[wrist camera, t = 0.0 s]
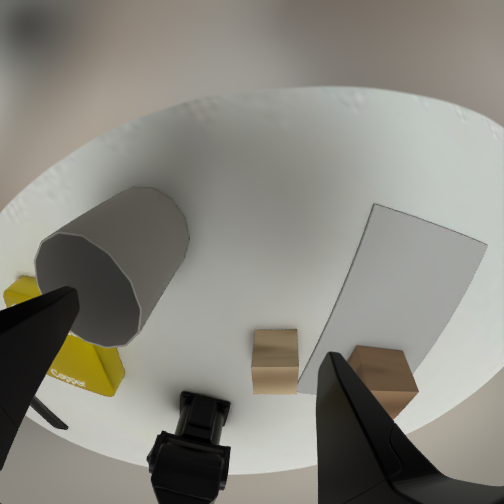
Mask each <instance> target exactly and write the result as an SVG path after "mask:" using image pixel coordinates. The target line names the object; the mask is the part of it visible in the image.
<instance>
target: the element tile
mask: <svg viewBox="0 0 504 504" xmlns="http://www.w3.org/2000/svg"><path fill="white" fill-rule="evenodd" d="M40 295H42V294H41V292H40V290H39V288H38V285H37V282H36V278H33V277H28V276H22V277H20V278H19V279H18V280H17V281H15V282H14V283H13V284H12V285H11V286H10V287H8V288H7V289H6V290H5V291H4V294H3V297H4V301H5V303H6V306H7V308H9V307H11V306H14V305H16V304H19V303H21V302H24V301H27V300H29V299H32V298H34V297H37V296H40ZM46 374H47V375H49V376H51V377H54V378H56V379H59V380H61V381H64V382H66V383H69V384H71V385H74V386H77V387H80V388H82V389H85V390H88V391H91V392H94V393H97V394H100V395H103V396H107V397H112V396H114V395H115V393H116V391H117V389H118V387H119V385H120V383H121V381H122V379H123V377H124V375H125V371H124V368H123V365H122V362H121V360H120V357H119V354H118V351H117V349H116V347H114V348H104V347H101V346H97V345H94V344H91V343H88V342H85V341H83V340H82V339H81V338H79V337H78V336H76V335H75V334H73V333H72V332H70V331H69V333H68V336H67V338H66V340H65V342H64V344H63V345H62V347H61V349H60V351H59V352H58V354H57V356H56V357H55V359H54V361H53V363H52V364H51V366H50V368H49V370H48V371H47V373H46Z"/></svg>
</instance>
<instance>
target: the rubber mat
mask: <svg viewBox="0 0 504 504" xmlns="http://www.w3.org/2000/svg"><path fill="white" fill-rule="evenodd" d="M487 247H488V245H487V244H484V243H482V242H480V241H477V240H475V239H472V238H470V237H467V236H465V235H462V234H460V233H457V232H455V231H452V230H449V229H447V228H444V227H441V226H439V225H436V224H433V223H431V222H428V221H425V220H422V219H419V218H417V217H414V216H411V215H408V214H405V213H402V212H399V211H396V210H393V209H390V208H387V207H383V206H380V205H377V204H374V205H373V208H372V211H371V214H370V217H369V219H368V222H367V225H366V228H365V231H364V234H363V236H362V239H361V242H360V244H359V247H358V250H357V252H356V255H355V258H354V260H353V263H352V265H351V268H350V270H349V273H348V275H347V278H346V280H345V283H344V285H343V287H342V290H341V292H340V295H339V297H338V299H337V302H336V304H335V306H334V308H333V311H332V313H331V315H330V317H329V320H328V322H327V324H326V326H325V328H324V331H323V333H322V335H321V337H320V339H319V341H318V343H317V345H316V347H315V349H314V351H313V353H312V355H311V358H310V360H309V362H308V364H307V365H306V367H305V369H304V371H303V373H302V375H301V377H300V379H299V381H298V383H297V392H298V393H306V394H315V395H317V381H318V370H319V367H320V365H321V363H322V361H323V359H324V357H325V355H326V354H327V352H329V351H333V352H339V353H341V354H342V356H343V357H344V358H345V360H346V361H348V359H349V357H350V356H351V354H352V352H353V350H354V349H355V347H356V345H358V346H366V347H374V348H382V349H391V350H400V351H403V352H404V355H405V357H406V360H407V362H408V365H409V367H410V370H411V372H412V374H413V373H414V372H415V370H416V369H417V368H418V366H419V365H420V364H421V362H422V361H423V360H424V358H425V357H426V355H427V354H428V352H429V351H430V350H431V348H432V347H433V345H434V344H435V342H436V341H437V339H438V338H439V336H440V335H441V333H442V332H443V330H444V328H445V327H446V325H447V324H448V322H449V320H450V319H451V317H452V315H453V314H454V312H455V310H456V309H457V307H458V305H459V303H460V302H461V300H462V298H463V296H464V294H465V292H466V291H467V289H468V287H469V285H470V283H471V281H472V279H473V277H474V275H475V273H476V271H477V269H478V267H479V265H480V262H481V260H482V258H483V256H484V254H485V251H486V249H487Z"/></svg>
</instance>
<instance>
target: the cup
mask: <svg viewBox="0 0 504 504" xmlns="http://www.w3.org/2000/svg"><path fill="white" fill-rule="evenodd" d="M189 240H190V238H189V233H188V228H187V223H186V218H185V217H184V215H183V214H182V212H181V211H180V210H179V208H178V207H177V205H176V204H175V202H174V201H173V200H172V199H171V198H169V197H168V196H166V195H164V194H163V193H161V192H159V191H158V190H156V189H154V188H148V187H131V188H129V189H127V190H125V191H123V192H121V193H119V194H117V195H115V196H113V197H112V198H110V199H108V200H106V201H105V202H103V203H101V204H99V205H98V206H96V207H94V208H93V209H91V210H89V211H87V212H86V213H84V214H83V215H81V216H79V217H78V218H76V219H74V220H73V221H71V222H70V223H68V224H66V225H65V226H63V227H62V228H60V229H59V230H57V231H56V232H54V233H53V234H51V235H50V236H48V237H47V238H45V239H44V240H42V241H41V243H40V246H39V248H38V251H37V254H36V256H35V259H34V264H35V274H36V282H37V285H38V288H39V290H40V292H41V294H45V293H48V292H50V291H53V290H56V289H58V288H61V287H64V286H71V287H74V288H76V289H77V292H78V298H79V304H80V310H79V313H78V315H77V317H76V319H75V321H74V323H73V325H72V327H71V329H70V332H72V333H73V334H75V335H76V336H78V337H79V338H81V339H82V340H83V341H85V342H88V343H91V344H94V345H97V346H101V347H104V348H114V347H122V346H127V345H128V344H129V343H130V342H131V341H132V340H133V339H134V338H135V337H136V336H137V335H138V334H139V333H140V331H141V330H142V328H143V326H144V324H145V323H146V321H147V319H148V318H149V316H150V314H151V312H152V311H153V309H154V307H155V306H156V304H157V302H158V301H159V299H160V297H161V296H162V294H163V292H164V291H165V289H166V287H167V286H168V284H169V282H170V281H171V279H172V278H173V276H174V274H175V273H176V271H177V269H178V268H179V266H180V265H181V263H182V261H183V260H184V258H185V255H186V251H187V247H188V244H189Z"/></svg>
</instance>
